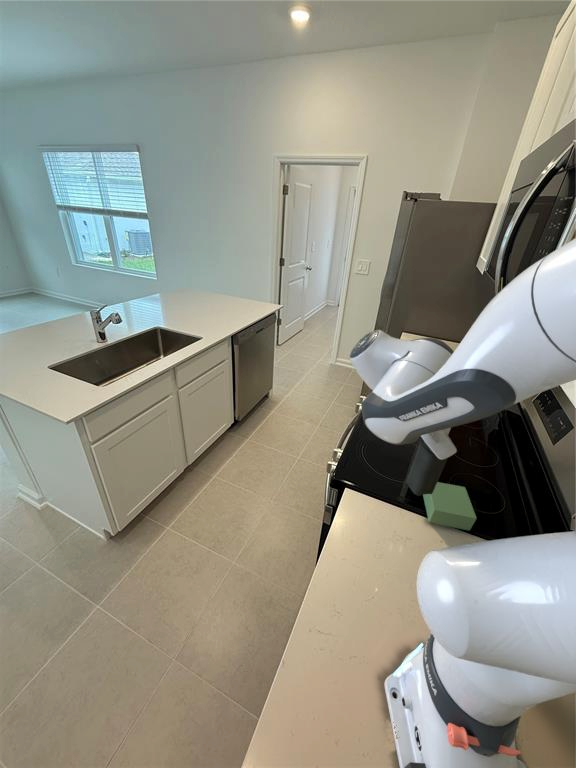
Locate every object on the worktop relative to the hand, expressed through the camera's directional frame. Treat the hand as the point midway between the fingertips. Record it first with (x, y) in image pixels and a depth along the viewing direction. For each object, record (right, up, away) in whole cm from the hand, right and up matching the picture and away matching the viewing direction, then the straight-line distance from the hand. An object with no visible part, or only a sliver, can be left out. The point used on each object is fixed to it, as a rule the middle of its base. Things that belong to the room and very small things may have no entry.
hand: (441, 437), depth 67 cm
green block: (+9, -23, +16) cm, 29 cm away
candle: (-2, -13, +8) cm, 16 cm away
